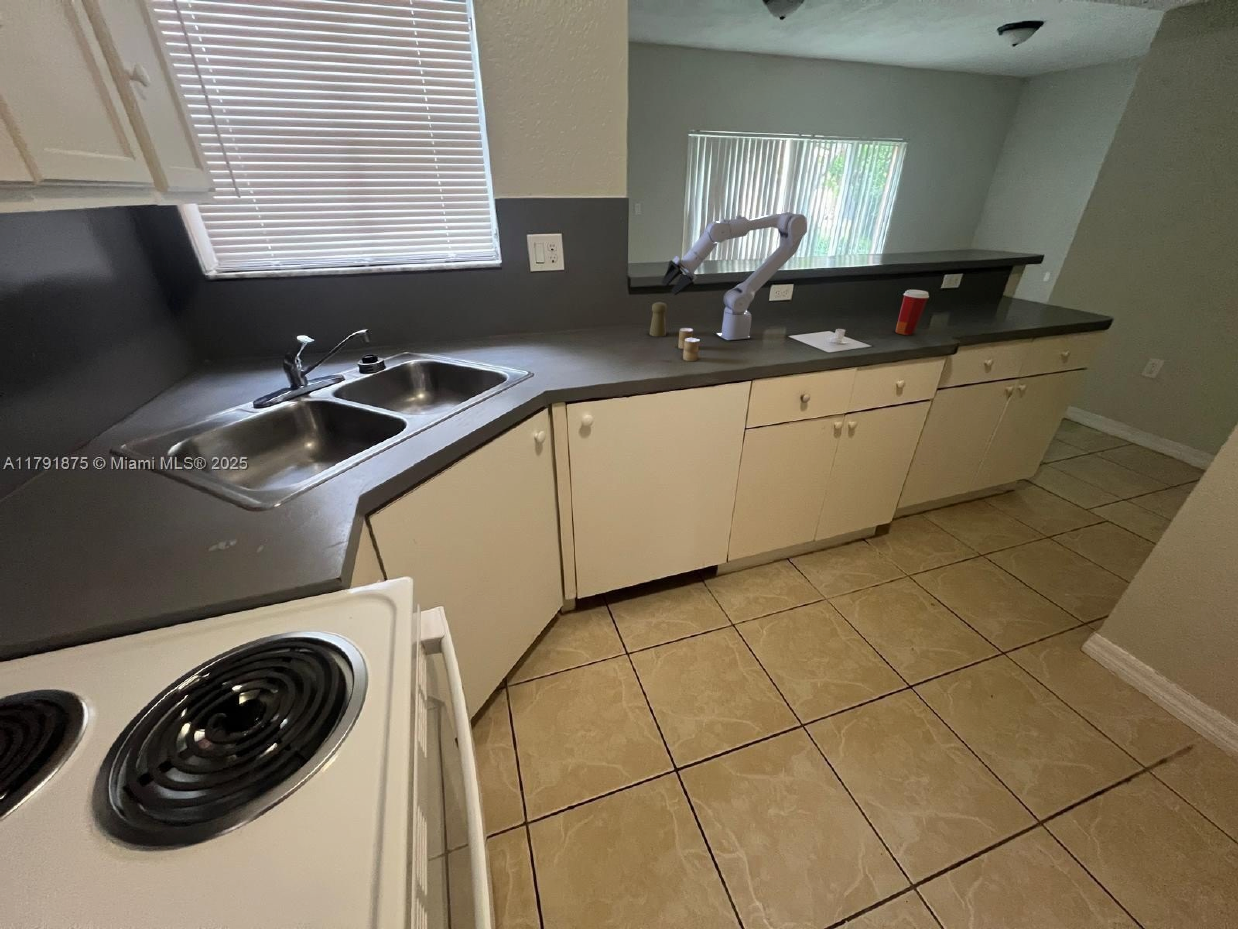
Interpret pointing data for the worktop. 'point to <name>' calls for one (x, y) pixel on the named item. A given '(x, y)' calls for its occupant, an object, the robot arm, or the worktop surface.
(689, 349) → the post
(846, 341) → the teacup and saucer
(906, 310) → the coffee cup
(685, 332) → the post
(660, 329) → the cork
